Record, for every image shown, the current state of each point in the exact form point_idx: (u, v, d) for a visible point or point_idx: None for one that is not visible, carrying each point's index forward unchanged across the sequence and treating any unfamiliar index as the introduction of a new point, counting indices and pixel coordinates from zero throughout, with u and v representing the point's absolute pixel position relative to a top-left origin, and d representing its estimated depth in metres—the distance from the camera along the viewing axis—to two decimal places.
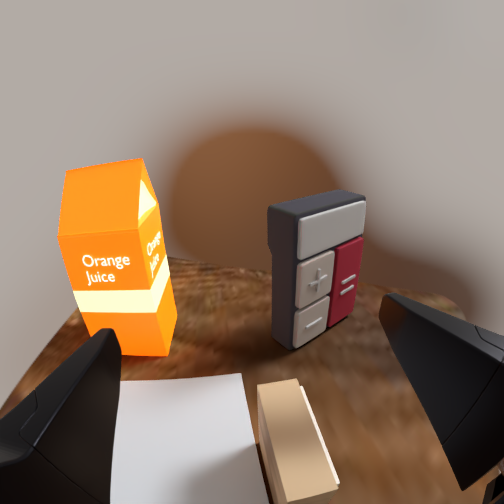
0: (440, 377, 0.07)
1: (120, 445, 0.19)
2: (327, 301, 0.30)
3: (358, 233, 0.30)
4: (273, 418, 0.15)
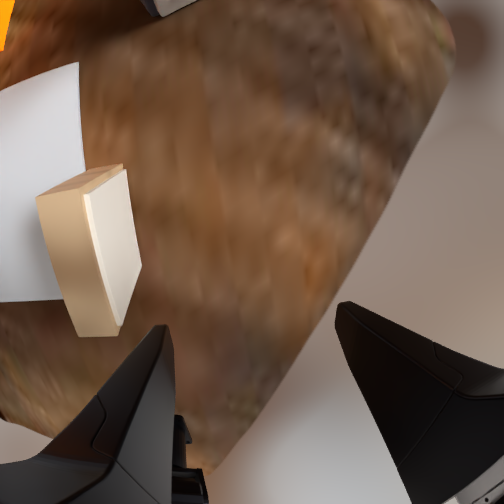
0: (392, 397, 0.06)
1: None
2: None
3: None
4: (54, 250, 0.12)
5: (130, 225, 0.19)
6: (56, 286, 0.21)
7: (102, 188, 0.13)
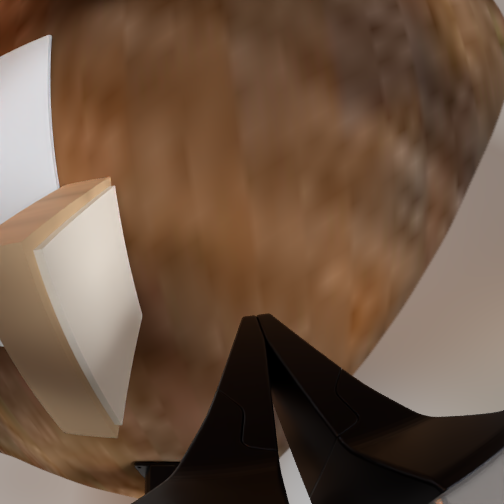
0: (294, 424, 0.06)
1: None
2: None
3: None
4: (5, 333, 0.06)
5: (123, 267, 0.13)
6: None
7: (71, 228, 0.08)
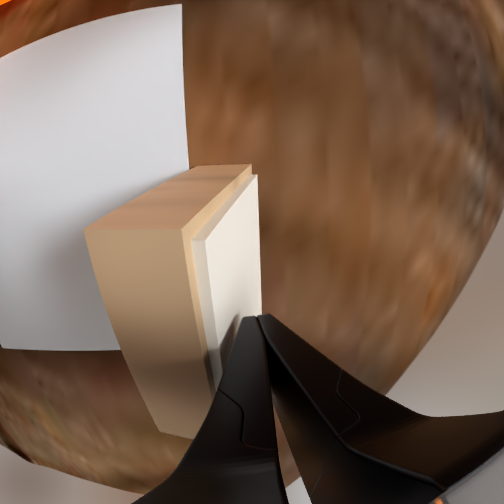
0: (294, 424, 0.06)
1: None
2: None
3: None
4: (124, 328, 0.07)
5: (256, 263, 0.13)
6: None
7: (227, 218, 0.08)
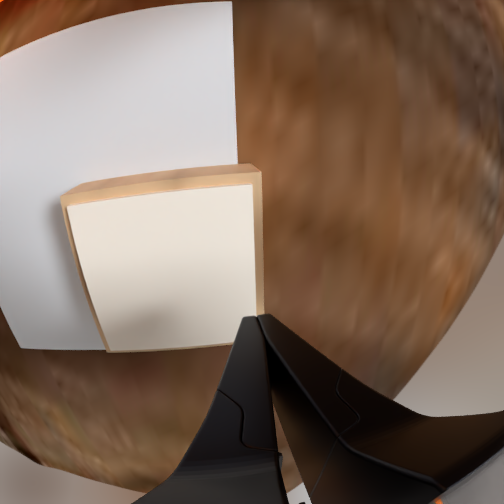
0: (294, 424, 0.06)
1: (20, 192, 0.11)
2: None
3: None
4: None
5: (231, 277, 0.12)
6: None
7: (111, 204, 0.10)
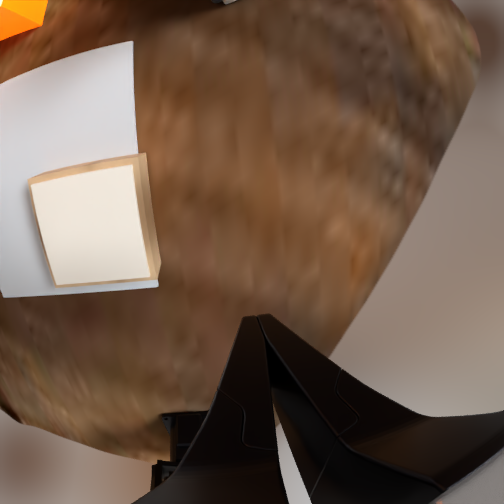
0: (294, 424, 0.06)
1: (7, 179, 0.16)
2: None
3: None
4: None
5: (124, 227, 0.17)
6: None
7: (54, 182, 0.15)
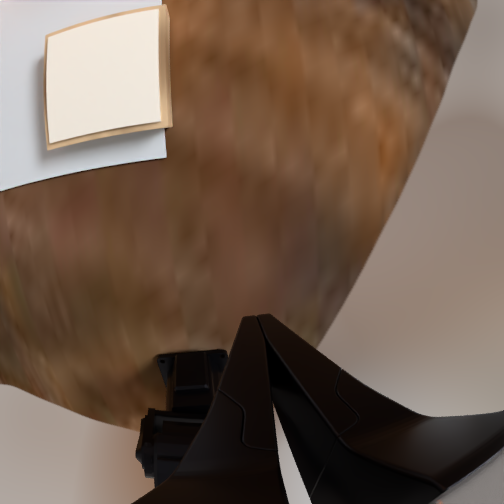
0: (294, 424, 0.06)
1: (19, 56, 0.12)
2: None
3: None
4: None
5: (140, 65, 0.13)
6: (94, 150, 0.17)
7: (74, 30, 0.11)
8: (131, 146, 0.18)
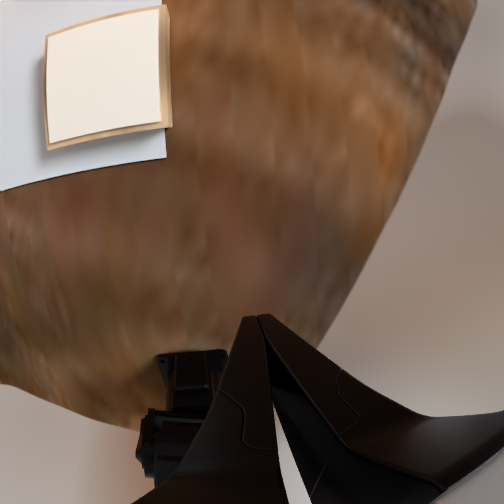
0: (294, 424, 0.06)
1: (19, 56, 0.12)
2: None
3: None
4: None
5: (140, 65, 0.13)
6: (94, 150, 0.17)
7: (74, 30, 0.11)
8: (131, 146, 0.18)
